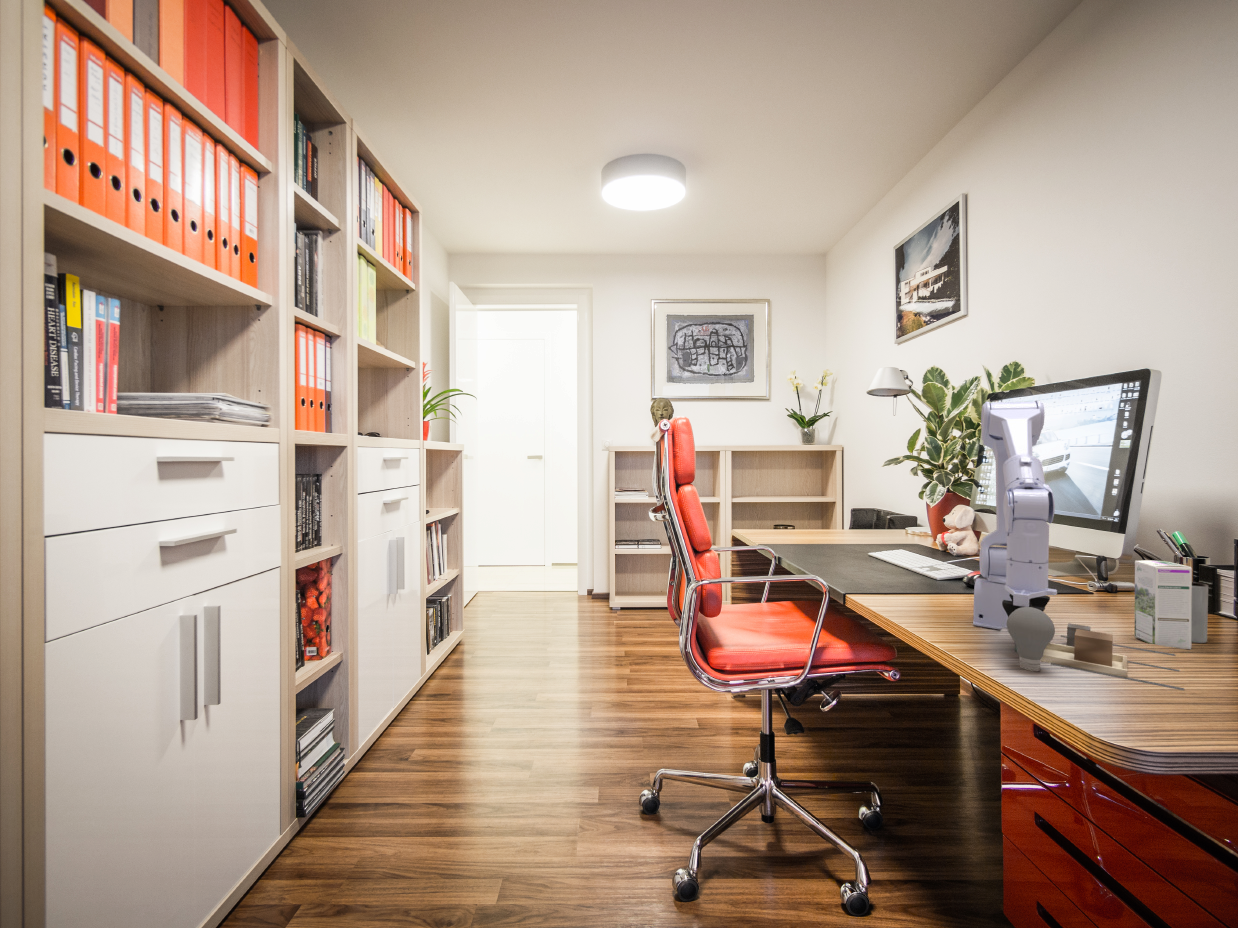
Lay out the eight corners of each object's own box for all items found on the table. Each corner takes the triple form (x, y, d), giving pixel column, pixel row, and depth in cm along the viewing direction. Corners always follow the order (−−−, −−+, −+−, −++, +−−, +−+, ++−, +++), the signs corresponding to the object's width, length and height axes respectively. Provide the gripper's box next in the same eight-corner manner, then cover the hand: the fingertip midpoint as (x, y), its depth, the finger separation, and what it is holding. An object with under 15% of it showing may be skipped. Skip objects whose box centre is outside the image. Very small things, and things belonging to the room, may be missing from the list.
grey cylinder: (1165, 635, 109) (1166, 580, 109) (1187, 635, 109) (1188, 580, 109) (1191, 643, 104) (1192, 586, 104) (1214, 642, 105) (1215, 585, 104)
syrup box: (1193, 649, 101) (1195, 566, 100) (1153, 647, 102) (1155, 564, 102) (1169, 639, 106) (1170, 560, 106) (1131, 637, 107) (1133, 559, 107)
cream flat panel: (1065, 653, 98) (1066, 630, 98) (1069, 642, 104) (1069, 619, 104) (1176, 674, 89) (1177, 648, 89) (1173, 659, 95) (1173, 635, 95)
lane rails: (1050, 668, 91) (1050, 663, 91) (1060, 639, 106) (1060, 635, 106) (1184, 695, 81) (1184, 689, 81) (1174, 658, 96) (1175, 654, 96)
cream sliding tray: (1012, 658, 95) (1013, 619, 94) (1019, 646, 101) (1020, 609, 101) (1127, 681, 85) (1127, 637, 85) (1126, 666, 92) (1127, 625, 92)
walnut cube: (1074, 663, 91) (1074, 634, 91) (1075, 656, 94) (1076, 628, 94) (1111, 670, 88) (1112, 641, 88) (1112, 662, 91) (1112, 634, 91)
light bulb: (1045, 668, 91) (1046, 604, 91) (1060, 682, 85) (1061, 614, 85) (1000, 663, 93) (1002, 601, 92) (1012, 676, 87) (1013, 610, 87)
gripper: (1053, 569, 89) (1051, 658, 89) (1060, 557, 100) (1059, 636, 100) (998, 563, 93) (997, 647, 93) (1011, 553, 104) (1010, 628, 104)
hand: (1025, 641), depth 97 cm, fingers open, 6 cm apart
